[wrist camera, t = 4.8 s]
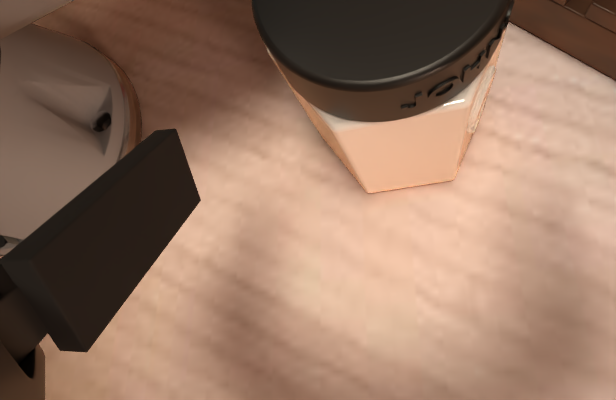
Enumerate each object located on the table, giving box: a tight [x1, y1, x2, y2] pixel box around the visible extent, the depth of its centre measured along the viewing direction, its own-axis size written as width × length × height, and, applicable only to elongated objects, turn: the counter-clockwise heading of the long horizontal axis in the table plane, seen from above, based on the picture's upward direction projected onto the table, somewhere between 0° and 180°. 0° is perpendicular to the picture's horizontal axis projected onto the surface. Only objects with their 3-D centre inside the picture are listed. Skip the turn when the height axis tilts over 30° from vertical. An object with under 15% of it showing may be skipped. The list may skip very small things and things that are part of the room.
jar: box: [251, 0, 514, 193], centre depth 19 cm, size 9×8×12 cm
